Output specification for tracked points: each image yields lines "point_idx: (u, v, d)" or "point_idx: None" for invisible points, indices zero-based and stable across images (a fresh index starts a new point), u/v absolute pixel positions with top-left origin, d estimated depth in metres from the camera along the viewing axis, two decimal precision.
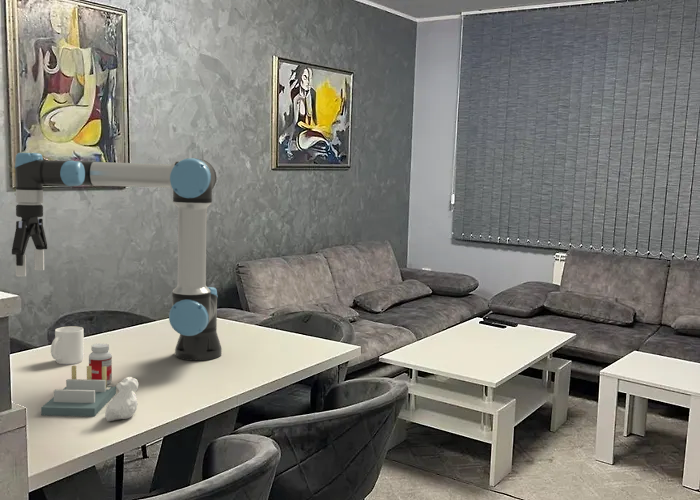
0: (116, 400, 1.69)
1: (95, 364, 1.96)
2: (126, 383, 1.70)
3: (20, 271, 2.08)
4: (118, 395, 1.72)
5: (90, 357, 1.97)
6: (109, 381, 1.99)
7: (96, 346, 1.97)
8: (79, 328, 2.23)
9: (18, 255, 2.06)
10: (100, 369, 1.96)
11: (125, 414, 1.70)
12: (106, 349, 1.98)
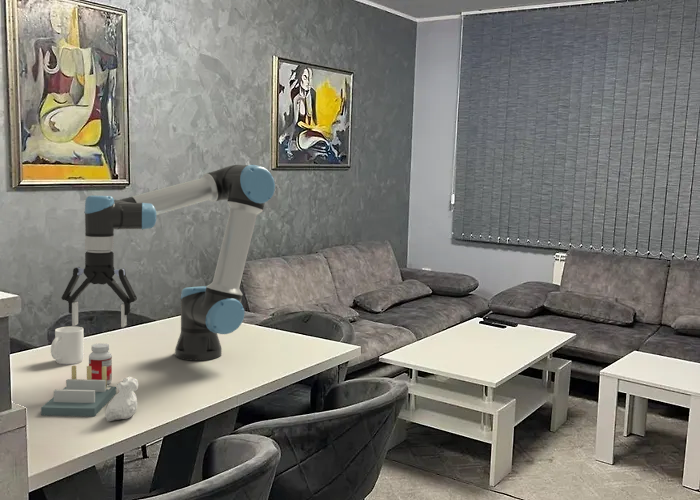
0: (116, 400, 1.69)
1: (95, 364, 1.96)
2: (126, 383, 1.70)
3: None
4: (118, 395, 1.72)
5: (90, 357, 1.97)
6: (109, 381, 1.99)
7: (96, 346, 1.97)
8: (79, 328, 2.23)
9: None
10: (100, 369, 1.96)
11: (125, 414, 1.70)
12: (106, 349, 1.98)
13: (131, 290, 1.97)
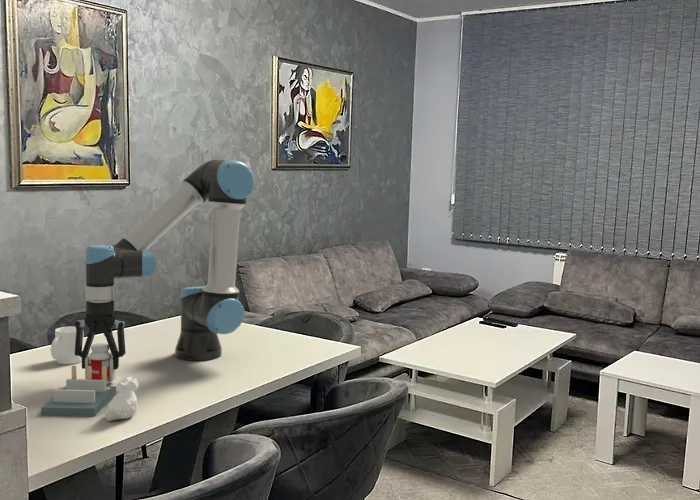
0: (116, 400, 1.69)
1: (95, 364, 1.96)
2: (126, 383, 1.70)
3: None
4: (118, 395, 1.72)
5: (90, 357, 1.97)
6: (109, 381, 1.99)
7: (96, 346, 1.97)
8: None
9: None
10: (100, 369, 1.96)
11: (125, 414, 1.70)
12: (106, 349, 1.98)
13: (123, 345, 1.99)
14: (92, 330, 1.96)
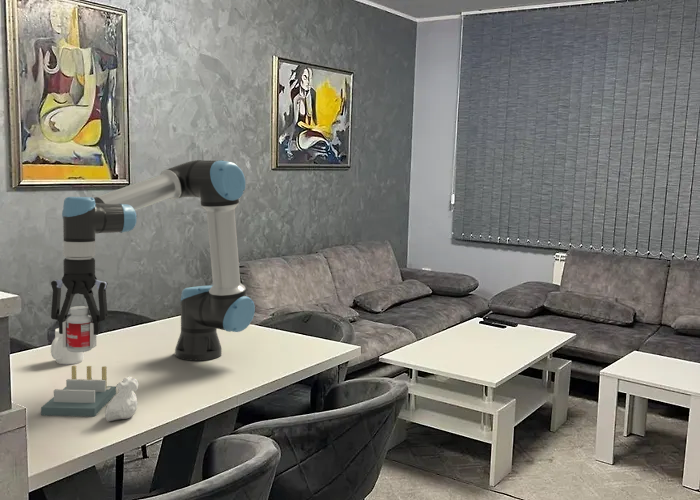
0: (116, 400, 1.69)
1: (74, 329, 1.77)
2: (126, 383, 1.70)
3: None
4: (118, 395, 1.72)
5: (68, 320, 1.77)
6: (89, 347, 1.79)
7: (75, 308, 1.78)
8: None
9: None
10: (79, 334, 1.77)
11: (125, 414, 1.70)
12: (86, 312, 1.78)
13: (105, 307, 1.79)
14: (70, 291, 1.77)
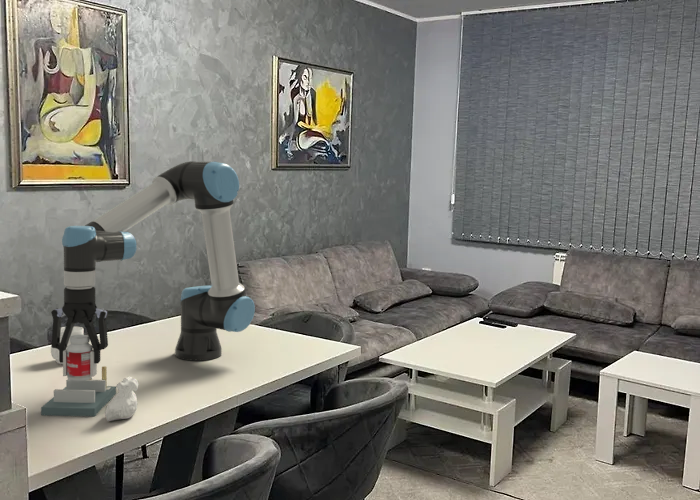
0: (116, 400, 1.69)
1: (74, 358, 1.77)
2: (126, 383, 1.70)
3: None
4: (118, 395, 1.72)
5: (68, 349, 1.78)
6: (89, 376, 1.80)
7: (75, 337, 1.78)
8: (79, 328, 2.23)
9: None
10: (79, 363, 1.78)
11: (125, 414, 1.70)
12: (86, 341, 1.79)
13: (105, 336, 1.80)
14: (71, 320, 1.78)
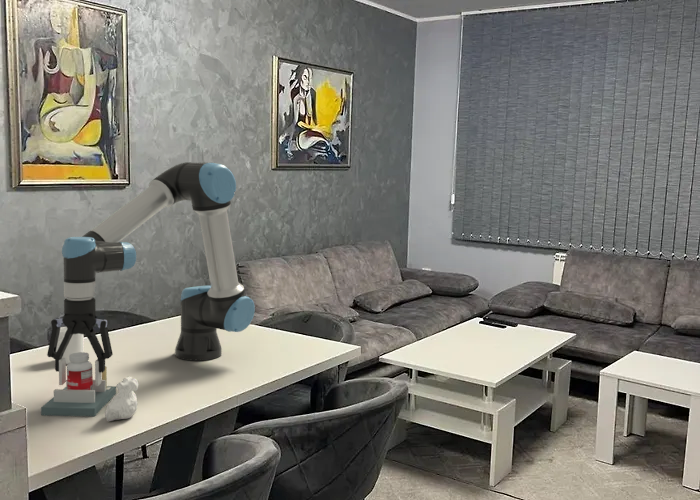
0: (116, 400, 1.69)
1: (74, 376, 1.78)
2: (126, 383, 1.70)
3: None
4: (118, 395, 1.72)
5: (68, 368, 1.78)
6: None
7: (74, 356, 1.79)
8: None
9: None
10: (79, 381, 1.78)
11: (125, 414, 1.70)
12: (85, 359, 1.79)
13: (109, 345, 1.80)
14: (70, 330, 1.78)
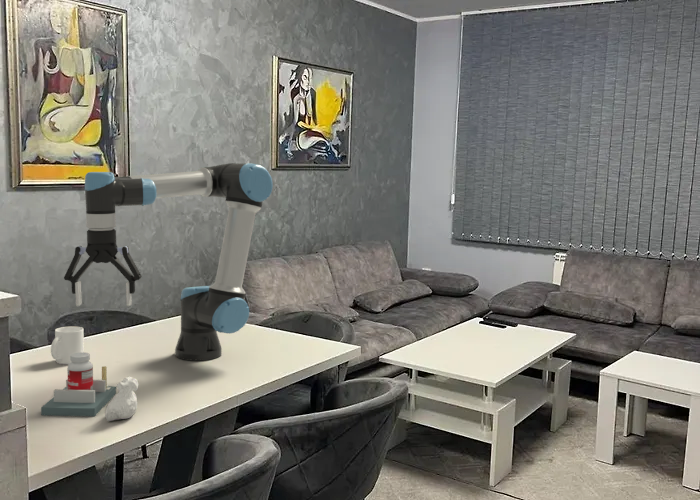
0: (116, 400, 1.69)
1: (74, 376, 1.78)
2: (126, 383, 1.70)
3: None
4: (118, 395, 1.72)
5: (69, 368, 1.79)
6: None
7: (75, 356, 1.79)
8: (79, 328, 2.23)
9: None
10: (80, 381, 1.78)
11: (125, 414, 1.70)
12: (86, 359, 1.80)
13: (135, 268, 1.93)
14: (91, 259, 1.90)
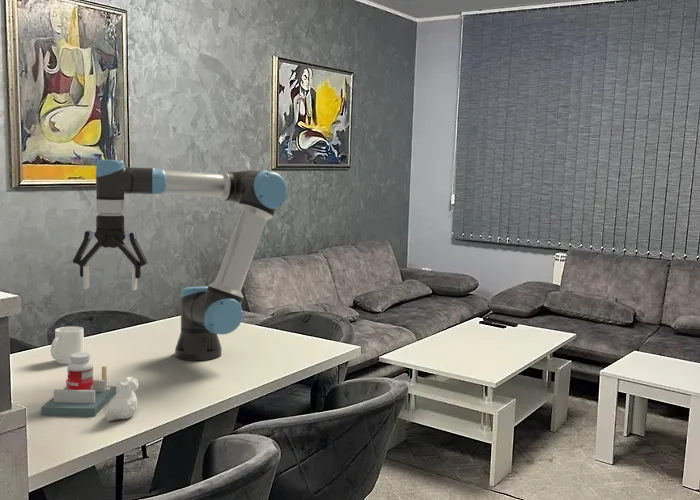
0: (116, 400, 1.69)
1: (74, 376, 1.78)
2: (126, 383, 1.70)
3: None
4: (118, 395, 1.72)
5: (69, 368, 1.79)
6: None
7: (75, 356, 1.79)
8: (79, 328, 2.23)
9: None
10: (80, 381, 1.78)
11: (125, 414, 1.70)
12: (86, 359, 1.79)
13: (142, 253, 1.99)
14: (100, 243, 1.97)
